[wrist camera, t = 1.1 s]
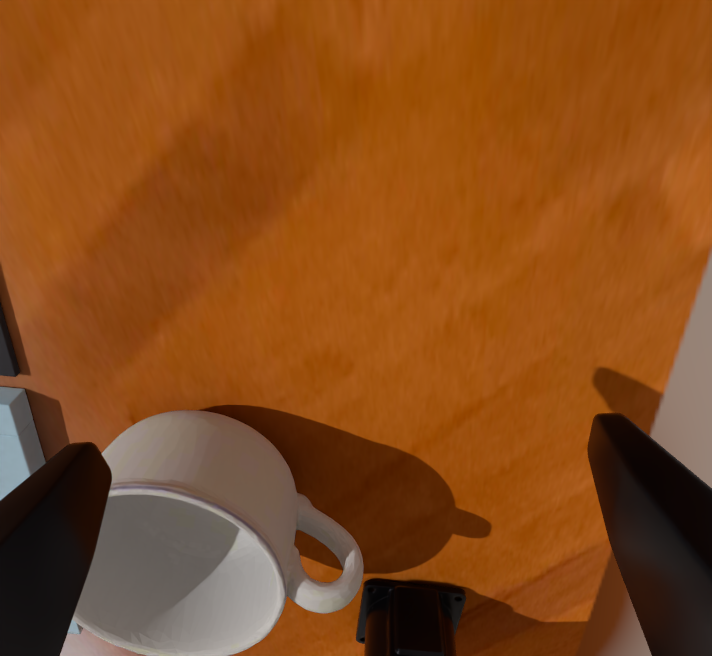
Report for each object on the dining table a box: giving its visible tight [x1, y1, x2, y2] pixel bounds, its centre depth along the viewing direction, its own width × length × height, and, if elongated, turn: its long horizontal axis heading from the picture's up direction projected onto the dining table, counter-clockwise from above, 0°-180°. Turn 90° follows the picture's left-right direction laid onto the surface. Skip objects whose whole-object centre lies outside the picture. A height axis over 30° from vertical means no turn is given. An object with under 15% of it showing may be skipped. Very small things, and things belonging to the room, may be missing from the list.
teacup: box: [72, 410, 364, 656], centre depth 27 cm, size 14×11×8 cm
